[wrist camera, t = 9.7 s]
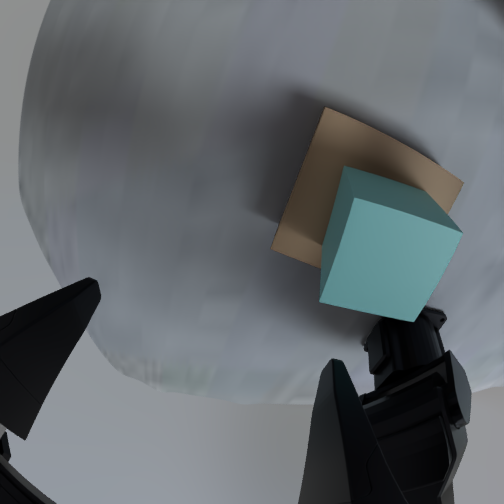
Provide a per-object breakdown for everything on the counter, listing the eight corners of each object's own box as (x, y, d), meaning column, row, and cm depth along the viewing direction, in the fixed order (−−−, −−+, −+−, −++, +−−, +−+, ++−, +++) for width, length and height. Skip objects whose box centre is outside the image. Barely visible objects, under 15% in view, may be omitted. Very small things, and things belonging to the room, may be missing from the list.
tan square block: (439, 165, 15) (464, 182, 11) (383, 265, 20) (392, 297, 16) (324, 106, 15) (325, 106, 12) (279, 221, 20) (270, 249, 17)
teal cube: (426, 191, 12) (463, 232, 8) (396, 265, 15) (413, 322, 11) (343, 165, 13) (354, 197, 9) (321, 245, 16) (319, 301, 12)
